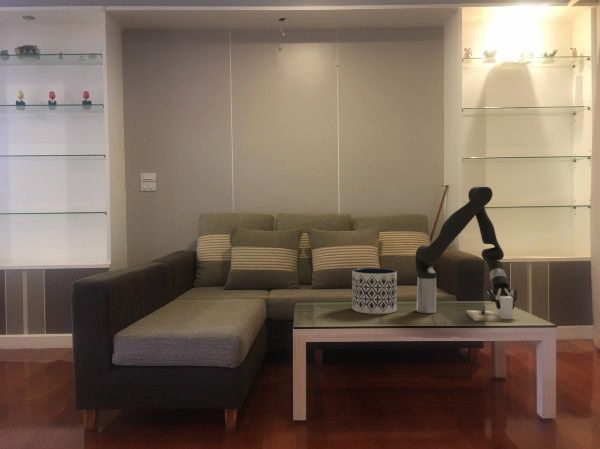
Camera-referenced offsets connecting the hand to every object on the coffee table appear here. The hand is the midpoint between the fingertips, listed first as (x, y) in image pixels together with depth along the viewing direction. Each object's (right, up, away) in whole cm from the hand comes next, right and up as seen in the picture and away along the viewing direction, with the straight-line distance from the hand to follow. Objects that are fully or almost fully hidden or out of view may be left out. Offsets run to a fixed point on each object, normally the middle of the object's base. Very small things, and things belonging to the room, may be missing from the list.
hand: (506, 308), depth 236 cm
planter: (-59, -4, +19) cm, 63 cm away
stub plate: (-10, -5, +3) cm, 11 cm away
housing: (0, -5, +2) cm, 5 cm away
